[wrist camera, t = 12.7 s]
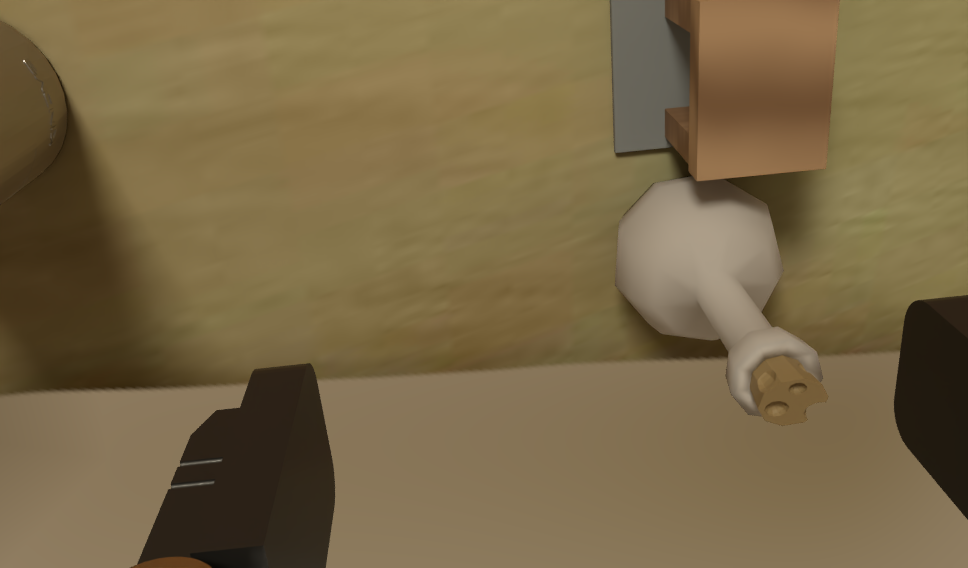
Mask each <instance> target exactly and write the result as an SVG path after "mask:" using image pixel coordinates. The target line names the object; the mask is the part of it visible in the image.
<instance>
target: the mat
mask: <svg viewBox="0 0 968 568" xmlns="http://www.w3.org/2000/svg"><path fill="white" fill-rule="evenodd" d="M610 20H611V56H612V92H613V128H614V151H615V153H619V152H629V151H639V150H649V149H659V148H669V147H673V146H672V144H671V143H670V142H669V141H668V140H667V139H666V137H665V109H667V108H677V107H687V106H689V95H690V32H688V31H686V30H685V29H683V28H682V27H680V26H679V25H677V24H676V23H674V22H673V21H671V20H669V19H668V18H666V17H665V0H610Z"/></svg>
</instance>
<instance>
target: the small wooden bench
mask: <svg viewBox="0 0 968 568" xmlns="http://www.w3.org/2000/svg"><path fill="white" fill-rule="evenodd" d="M839 2H840V0H665V17H666V18H668V19H669V20H671V21H673V22H674V23H676V24H677V25H679V26H680V27H682V28H683V29H685V30H686V31H688V32H690V95H689V106H687V107H677V108H667V109H665V137H666V139H667V140H668V141H669V142H670V143H671V144H672V146H673V147H674V148H675V149H676V150H677V151H678V153H679V154H680V155H681V156H682V157H683V158H684V160H685V161H686V162H687V163H688V164H689V172H690V174H691V175H692V176H693V177H694V178H695V180H696V181H705V180H715V179H726V178H736V177H746V176H756V175H766V174H776V173H786V172H797V171H807V170H817V169H826V162H827V150H828V137H829V125H830V113H831V101H832V88H833V76H834V64H835V52H836V39H837V27H838V15H839Z"/></svg>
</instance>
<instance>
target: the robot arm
mask: <svg viewBox="0 0 968 568" xmlns="http://www.w3.org/2000/svg"><path fill="white" fill-rule="evenodd" d="M66 131H67V107H66V102H65V97H64V92H63V90H62V87H61V85H60V82H59V80H58V77H57V75H56V73H55V72H54V70H53V68H52V67H51V65H50V64H49V62H48V61H47V59H46V58H45V56H44V55H43V54H42V53H41V52H40V51H39V50H38V49H37V47H36V46H35V45H34V44H33V43H32V42H31V41H30V40H29V39H28V38H26V37H25V36H24V35H22V34H21V33H20V32H18V31H17V30H16V29H14V28H13V27H12V26H10V25H8V24H6V23H4V22H2V21H0V205H1V204H2V203H3V202H4V201H6V200H7V199H9V198H10V197H11V196H13V195H14V194H15V193H17V192H18V191H19V190H21V189H22V188H23V187H24V186H26V185H27V184H28V183H30V182H31V181H32V180H33V179H35V178H36V177H37V176H39V175H40V174H41V173H42V172H43V171H44V170H45V169H46V168H47V167H48V166H49V165H50V164H51V163H52V162H53V161H54V160H55V158H56V156H57V155H58V153H59V151H60V149H61V148H62V145H63V141H64V138H65V134H66ZM894 412H895V419H896V424H897V427H898V430H899V433H900V436H901V438H902V440H903V442H904V443H905V445H906V446H907V447H908V449H909V450H910V451H911V452H912V454H913V455H914V456H915V457H916V458H917V460H918V461H919V462H920V463H921V464H922V466H923V467H924V468H925V469H926V470H927V472H928V473H929V474H930V475H931V476H932V478H933V479H934V480H935V481H936V482H937V484H938V485H939V486H940V487H941V488H942V490H943V491H944V492H945V493H946V494H947V495H948V497H949V498H950V499H951V500H952V501H953V502H954V504H955V505H956V506H957V507H958V509H959V510H960V511H961V512H962V513H963V515H964V516H965V517H966V518H967V519H968V295H964V296H954V297H945V298H936V299H926V300H917V301H914V302H913V303H912V304H911V305H910V306H909V308H908V310H907V312H906V315H905V320H904V327H903V335H902V343H901V351H900V358H899V367H898V374H897V382H896V389H895V397H894ZM334 480H335V479H334V468H333V462H332V456H331V450H330V445H329V440H328V435H327V430H326V425H325V420H324V415H323V410H322V404H321V400H320V394H319V389H318V384H317V379H316V375H315V372H314V369H313V367H312V365H311V364H310V363H308V364H299V365H289V366H280V367H270V368H261V369H255V370H254V371H253V372H252V375H251V378H250V380H249V383H248V386H247V389H246V392H245V395H244V398H243V401H242V404H241V407H240V408H233V409H224V410H217V411H215V412H214V413H213V414H212V415H211V416H210V417H209V418H208V419H207V420H206V421H205V422H204V423H203V424H202V425H201V426H200V427H199V428H198V429H197V430H196V431H195V432H194V433H193V434H192V435H191V436H190V439H189V441H188V444H187V446H186V448H185V451H184V453H183V456H182V458H181V461H180V467H178V468H177V470H176V472H175V475H174V477H173V480H172V482H171V489H169V490H168V492H167V494H166V496H165V499H164V501H163V504H162V506H161V508H160V511H159V513H158V516H157V518H156V520H155V523H154V525H153V528H152V530H151V533H150V535H149V537H148V540H147V542H146V544H145V547H144V549H143V552H142V554H141V556H140V559H139V561H138V564H137V565H135V566H133V567H131V568H326V561H327V554H328V547H329V540H330V533H331V526H332V520H333V513H334V505H335V481H334Z"/></svg>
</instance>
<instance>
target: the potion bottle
mask: <svg viewBox="0 0 968 568" xmlns="http://www.w3.org/2000/svg"><path fill="white" fill-rule="evenodd" d="M783 271H784V270H783V266H782V262H781V257H780V253H779V249H778V245H777V241H776V237H775V233H774V228H773V224H772V220H771V217H770V213H769V209H768V205H767V204H766V203H764V202H762V201H761V200H759V199H757V198H756V197H754V196H752V195H750V194H749V193H747V192H745V191H743V190H742V189H740V188H738V187H737V186H735V185H733V184H731V183H730V182H728V181H726V180H724V179H715V180H705V181H696V180H695V178H694V177H693V176H690V177H684V178H679V179H674V180H668V181H663V182H658V183H653V184H652V185H651V186H650V187H649V189H648V190H647V191H646V192H645V193H644V194H643V195H642V196H641V197H640V198H639V199H638V200H637V201H636V202H635V203H634V205H633V206H632V207H631V208H630V209H629V210H628V211H627V212H626V213H625V214H624V216H623V217H622V219H621V220H620V221H619V231H618V246H617V261H616V277H615V286H616V287H617V288H618V289H619V291H620V292H621V293H622V294H623V295H624V296H625V297H626V299H627V300H628V301H629V302H630V303H631V304H632V305H633V307H634V308H635V309H636V310H637V311H638V312H639V313H640V315H641V316H642V317H643V318H644V319H645V320H646V321H647V323H648V324H650V325H651V326H652V327H653V328H655V329H656V330H657V331H658V332H660V333H661V334H666V335H673V336H681V337H688V338H696V339H704V340H711V341H712V340H718V339H721V341H722V343H723V344H724V346H725V348H726V349H727V351H728V353H729V354H728V362H727V369H726V379H727V382H728V386H729V389H730V393H731V395H732V396H733V397H734V399H735V400H736V401H737V402H738V403H739V404H740V405H741V407H742V408H743V409H744V410H745V411H746V412H747V413H748V415H756V416H762V417H763V418H764V420H765V421H768V422H771V423H774V424H778V425H781V426H785V425H791V424H797V423H803V422H805V421H807V420H808V419H807V418H806V408H807V407H808V406H810V405H812V404H814V403H819V402H826V401H827V399H828V395H827V393H826V391H825V389H824V387H823V385H822V384H821V383H820V382H821V381H822V379H823V376H822V372H821V368H820V363H819V359H818V355H817V352H816V351H815V350H814V349H812V348H811V347H810V346H809V345H807V344H806V343H805V342H804V341H802V340H801V339H800V338H798V337H796V336H794V335H792V334H791V333H789V332H787V331H785V330H783V329H781V328H779V327H773V328H772V326H771V325H770V324H769V322H768V321H767V319H766V318H765V317H764V315H763V314H762V313H761V312H762V310H763V308H764V306H765V305H766V303H767V301H768V299H769V297H770V295H771V293H772V292H773V290H774V288H775V286H776V284H777V282H778V281H779V279H780V277H781V275H782V273H783Z"/></svg>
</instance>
